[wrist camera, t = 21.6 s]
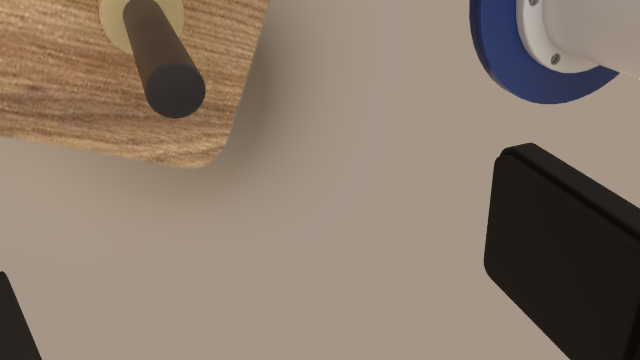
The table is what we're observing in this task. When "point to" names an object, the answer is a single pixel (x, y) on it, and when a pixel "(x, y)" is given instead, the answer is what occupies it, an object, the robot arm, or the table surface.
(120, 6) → the brush
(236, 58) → the table surface
